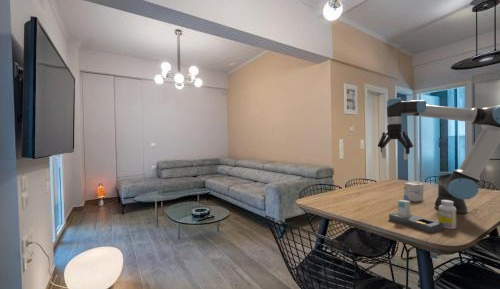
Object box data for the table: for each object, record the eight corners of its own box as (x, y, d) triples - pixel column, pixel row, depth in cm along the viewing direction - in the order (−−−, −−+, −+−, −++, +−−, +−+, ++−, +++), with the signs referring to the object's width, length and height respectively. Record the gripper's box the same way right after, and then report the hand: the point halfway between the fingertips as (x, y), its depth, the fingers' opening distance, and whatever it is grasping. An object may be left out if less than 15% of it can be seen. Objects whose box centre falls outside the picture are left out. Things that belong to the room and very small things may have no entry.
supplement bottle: (448, 224, 118) (447, 199, 118) (460, 229, 111) (460, 202, 111) (435, 224, 118) (435, 199, 117) (446, 229, 111) (446, 203, 111)
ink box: (403, 198, 167) (403, 180, 167) (411, 197, 170) (411, 179, 170) (415, 201, 159) (414, 182, 159) (423, 200, 162) (423, 181, 161)
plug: (402, 219, 125) (402, 199, 125) (410, 221, 122) (410, 201, 122) (397, 221, 123) (397, 200, 123) (404, 223, 120) (404, 202, 120)
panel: (400, 216, 129) (400, 211, 129) (442, 229, 111) (442, 222, 111) (389, 219, 125) (389, 214, 125) (430, 233, 107) (430, 226, 107)
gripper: (371, 125, 150) (371, 157, 150) (412, 122, 127) (412, 160, 128) (379, 125, 153) (379, 157, 154) (420, 122, 131) (420, 159, 131)
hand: (394, 158), depth 141 cm, fingers open, 13 cm apart
